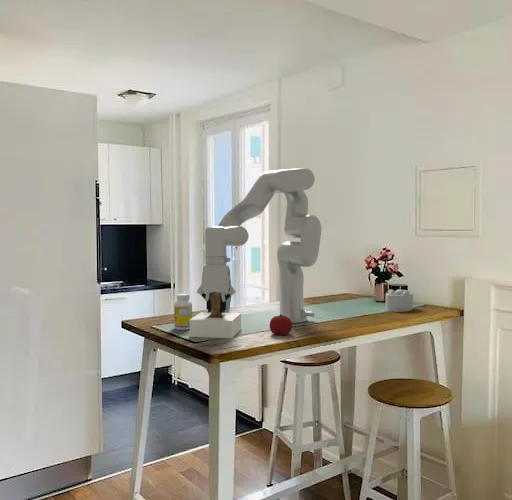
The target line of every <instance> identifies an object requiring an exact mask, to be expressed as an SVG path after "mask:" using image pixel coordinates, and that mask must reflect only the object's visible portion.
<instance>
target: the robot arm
mask: <svg viewBox="0 0 512 500" xmlns="http://www.w3.org/2000/svg"><path fill="white" fill-rule="evenodd" d="M314 184H315V174H314V173H313V171H312V170H311V169H309V168H307V167H299V168H289V169H278V170H268V171H264V172H262V173H261V174H260V175H259V176H258V178H257V179H256V181H255V182H254V184H253V185H252V187H251V188H250V190H249V191H248V193H247V194H246V195H245V197H244V198H243V199H242V200H241V201H240V202H239V203H237V204H236V205H235V206H234V207H232V208H231V209H230V210H229V211H228V212H227V213H226V214H225V215H224V216H223V217H222V219H221V220H220V221H219V223H218V225H215V226H207V227H206V228H205V230H204V249H205V250H204V255H205V258H204V261H205V262H204V263H205V264H203V267H202V273H201V284H200V286H199V287H198V288H197V290H196V294H199V295H200V296H201V297H202V298H203V299H204V301H205V302H206V303H205V304H206V306H205V307H206V311H207V312H211V299H210V298H211V293H212V292H214V291H216V292H217V293H221V297H222V302H221V313H223V312H225V310H226V300H227V299H228V298H229V297H230V296H231V297H232V296H233V295H234V294H236V293H237V292H236V290H235V288H234V287H233V285H232V278H231V269H230V264H227V263H230V262H231V258H230V257H228V256H227V247H228V246H229V247H241V246H243V245H245V244H246V243H247V242H248V240H249V232H248V230H247V229H246V228H245V227H243V226H241V225H242V224H243V223H245V222H247V221H249V220H251V219H254V218H255V217H257V216H259V215H261V214H262V213H264V211H265V209H266V208H267V206H268V204H269V203H270V202H271V200H272V198H273V197H274V195H275V194H284V196H285V200H286V211H285V212H286V213H285V218H284V226H283V227H284V234H285V235H286V236H287V237H288V238H292V239H300V240H299V241H292V240H291V241H285V242H283V243H281V244H280V245H279V246H278V249H277V253H276V255H277V256H276V257H277V263H278V266H279V267H278V269H279V315H280V314H282V315H284V316H286V317H288V318H290V320H291V321H292V324H296V323H297V324H298V323H305V322H307V321H308V317H312V318H313V317H315V311H311V310H310V311H307V310H305V309H306V308H305V307H304V278H305V277H304V273H303V268H306V267H307V268H309V267H313V265H315V264H316V262H317V261H318V258H319V252H320V251H319V250H320V244H321V238H322V237H321V236H322V224H321V220H320V219H319V218H318V217H317V216H316V215H314V214H308V212H309V199H308V197H307V194H306V192H305V191H308V190H311V188H312V187H313V186H314ZM302 267H303V268H302ZM228 291H230V293H229V294H227V295H226V293H227V292H228Z"/></svg>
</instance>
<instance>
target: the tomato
mask: <svg viewBox="0 0 512 500" xmlns="http://www.w3.org/2000/svg"><path fill="white" fill-rule="evenodd" d="M292 329H293V323H292V321H291V320H290V318H288V317H286V316H284V315H282V314H280V313H279V315H275V316H273V317H271V319H270V321H269V330H270V332H271V333H272V334H274V335H277V336H287V335H288V334H290V333H291V331H292Z"/></svg>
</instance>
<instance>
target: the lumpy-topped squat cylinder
mask: <svg viewBox="0 0 512 500" xmlns="http://www.w3.org/2000/svg"><path fill="white" fill-rule="evenodd" d="M384 306H385V307H384V308H385V311H387V312H392V313H394V312H395V313H397V312H398V313H400V312H401V313H402V312H405V313H406V312H410V311H413V310H414V293H413V292H410V291H409V290H407V289H396V290H394V289H388V290H387V292H386V293H385V305H384Z"/></svg>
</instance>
